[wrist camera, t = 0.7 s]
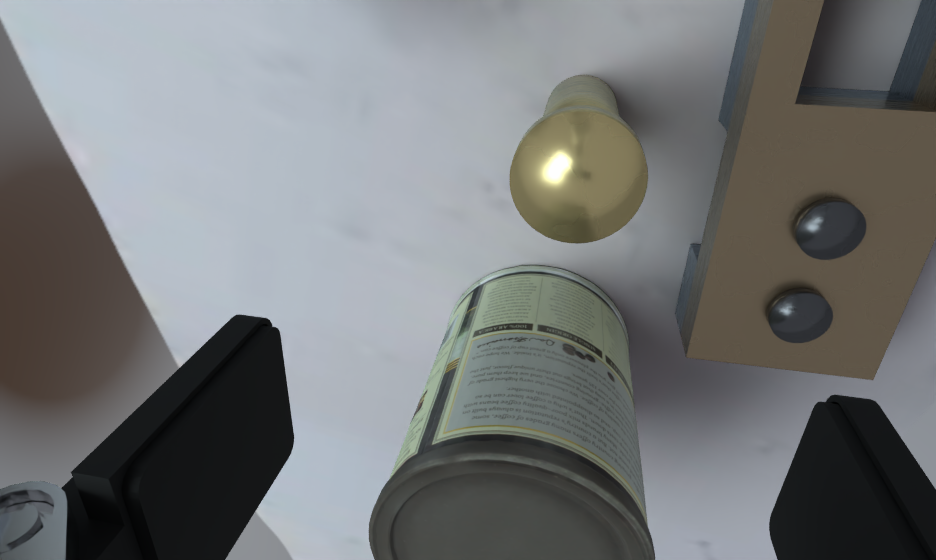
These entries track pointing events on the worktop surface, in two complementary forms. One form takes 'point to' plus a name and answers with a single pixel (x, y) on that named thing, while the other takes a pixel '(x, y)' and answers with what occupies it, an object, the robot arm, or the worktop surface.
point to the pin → (579, 165)
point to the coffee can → (521, 433)
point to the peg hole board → (813, 205)
